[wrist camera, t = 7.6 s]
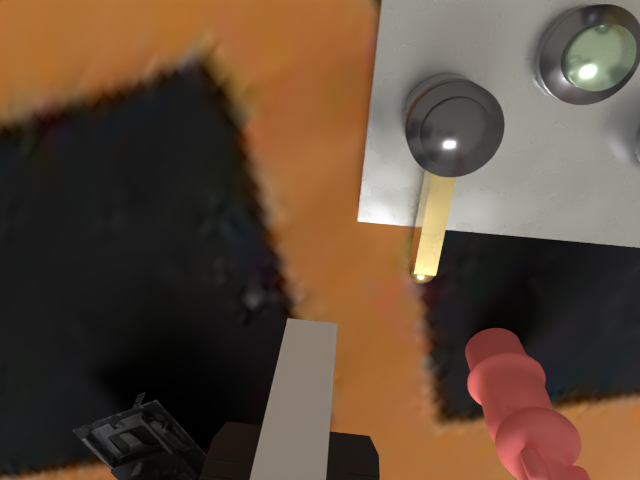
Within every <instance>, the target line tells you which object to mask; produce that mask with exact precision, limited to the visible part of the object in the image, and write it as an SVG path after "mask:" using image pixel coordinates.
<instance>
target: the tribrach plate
mask: <svg viewBox="0 0 640 480" xmlns="http://www.w3.org/2000/svg"><path fill="white" fill-rule="evenodd" d="M441 74H457V75H461V76H464V77H466V78H468V79H470V80H471V81H473V82H475V83H476V84H478V85H480V86H481V87H483V88H485V89H486V90H488V91H489V92H490V93H491V94H492V95H493V96H494V97H495V98H496V99H497V101H498V102H499V104H500V106H501V108H502V111H503V115H504V121H505V128H504V135H503V139H502V142H501V144H500V146H499V148H498V150H497V152H496V153H495V155H494V156H493V157H492V158H491V159H490V160H489V161H488V162H487V163H486V164H485V165H484V166H483V167H481V168H480V169H478V170H477V171H475V172H472V173H470V174H467V175H465V176H460V177H456V181H455V186H454V191H453V196H452V200H451V205H450V210H449V215H448V220H447V224H446V230H457V231H468V232H478V233H489V234H500V235H511V236H521V237H532V238H543V239H554V240H565V241H575V242H586V243H597V244H608V245H618V246H629V247H640V162H639V160H638V158H637V153H636V145H637V139H638V136H639V133H640V0H381V3H380V12H379V21H378V30H377V39H376V48H375V57H374V66H373V75H372V84H371V93H370V102H369V111H368V120H367V129H366V138H365V147H364V156H363V165H362V174H361V184H360V193H359V202H358V220H357V221H360V222H370V223H381V224H392V225H403V226H414V227H415V224H416V219H417V213H418V207H419V201H420V196H421V190H422V184H423V179H424V173H425V170H424V169H423V168H422V167H421V166H420V165H419V164H418V163H417V162H416V161H415V159H414V158H413V156H412V154H411V152H410V150H409V147H408V144H407V141H406V138H405V135H404V132H403V128H402V113H403V108H404V105H405V103H406V101H407V99H408V97H409V96H410V94H411V93H412V91H413V90H414V89H415V88H416V87H417V86H418V85H419V84H421V83H422V82H424V81H425V80H427V79H429V78H431V77H434V76H437V75H441Z"/></svg>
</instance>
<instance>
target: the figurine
mask: <svg viewBox="0 0 640 480" xmlns="http://www.w3.org/2000/svg"><path fill="white" fill-rule="evenodd" d="M465 354H466V358H467V362H468V365H469V368H470V371H471V372H470V374H469V376H468V390H469V393H470V395H471V396H472V398H473V399H474V400H475V401H476V402H478V403H479V404H480V405H482V407H483V412H484V417H485V422H486V426H487V430H488V432H489V434H490V436H491V438H492V439H493V441H494V442H495V449H496V452H497V454H498V457H499V459H500V460H501V462H502V463H503V465H504V466H505V467H506V468H507V469H508V471H509V472H510V473H511V474H512V475H513V476H515V477H516V478H517V479H518V480H590V478H589V476H588V473H587V472H586V470H585V469H583V468H581V467H579V466H574V465H575V463H576V462H577V460H578V458H579V456H580V452H581V439H580V436H579V433H578V431H577V429H576V428H575V426H574V425H573V424H572V423H571V422H570V421H569V420H568V419H567V418H566V417H564V416H563V415H561V414H560V413H558V412H556V411H553V408H552V405H551V402H550V399H549V396H548V394H547V392H546V389H545V387H544V386H545V373H544V371H543V369H542V367H541V365H540V364H539V363H538V362H537V361H536V360H534V359H533V358H531V357H529V356H527V355H526V353H525V351H524V349H523V347H522V345H521V343H520V341H519V339H518V337H517V336H516V335H515V334H514V333H512V332H511V331H509V330H506V329H502V328H490V329H486V330H483V331H480V332H479V333H477V334H475V335H474V336H473V337H472V338H471V339H470V340H469V341H468V343H467V345H466V349H465Z"/></svg>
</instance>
